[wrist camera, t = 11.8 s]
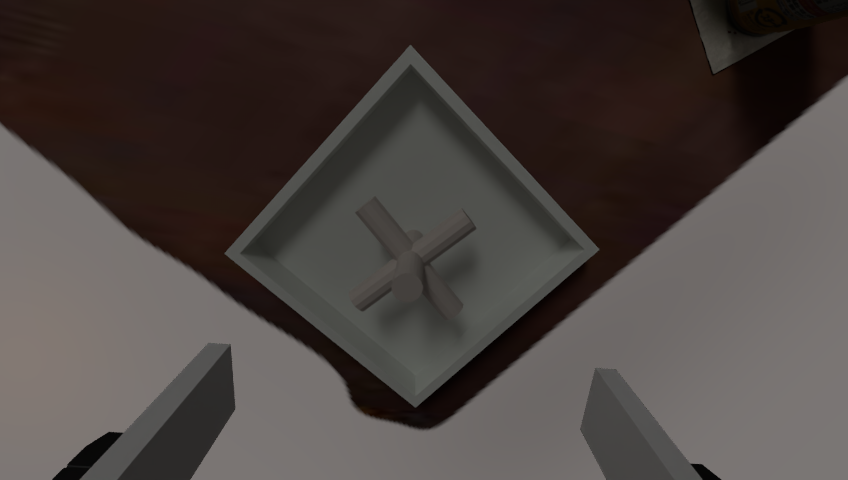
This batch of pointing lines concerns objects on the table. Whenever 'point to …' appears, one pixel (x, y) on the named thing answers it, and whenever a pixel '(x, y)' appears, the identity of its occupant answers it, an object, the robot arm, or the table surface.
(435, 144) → the tray
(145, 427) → the robot arm
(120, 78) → the table surface
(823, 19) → the condiment
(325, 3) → the table surface
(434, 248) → the pipe connector
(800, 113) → the table surface
